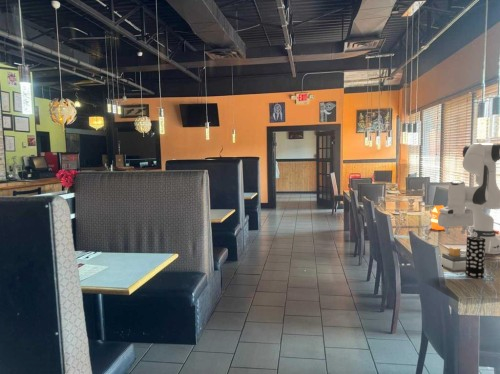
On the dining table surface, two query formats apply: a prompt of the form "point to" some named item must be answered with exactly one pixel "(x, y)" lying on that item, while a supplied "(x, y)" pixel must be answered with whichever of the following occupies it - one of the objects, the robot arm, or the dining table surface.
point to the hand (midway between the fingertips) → (455, 233)
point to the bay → (453, 265)
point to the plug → (454, 251)
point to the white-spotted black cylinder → (475, 257)
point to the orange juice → (436, 218)
